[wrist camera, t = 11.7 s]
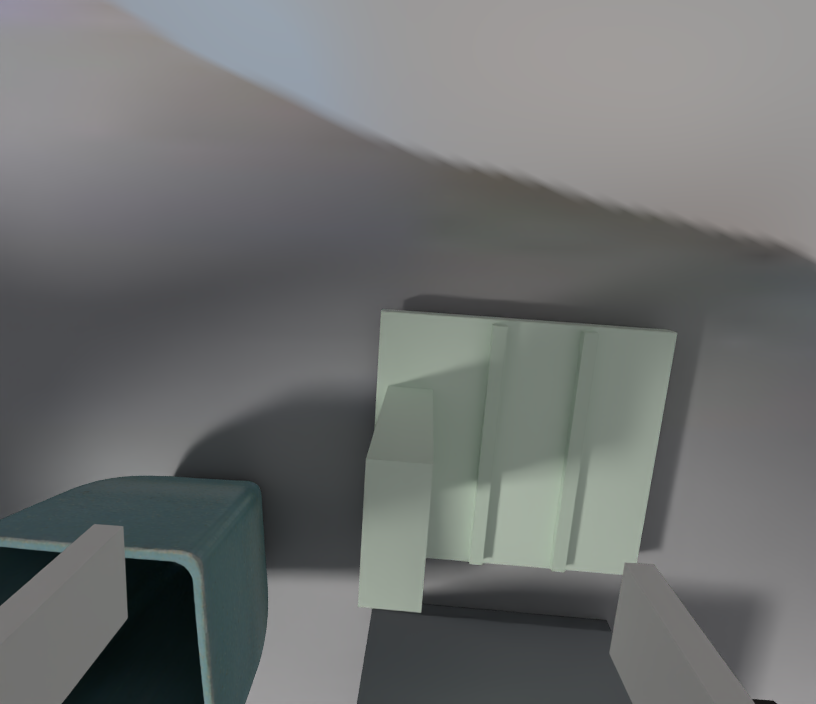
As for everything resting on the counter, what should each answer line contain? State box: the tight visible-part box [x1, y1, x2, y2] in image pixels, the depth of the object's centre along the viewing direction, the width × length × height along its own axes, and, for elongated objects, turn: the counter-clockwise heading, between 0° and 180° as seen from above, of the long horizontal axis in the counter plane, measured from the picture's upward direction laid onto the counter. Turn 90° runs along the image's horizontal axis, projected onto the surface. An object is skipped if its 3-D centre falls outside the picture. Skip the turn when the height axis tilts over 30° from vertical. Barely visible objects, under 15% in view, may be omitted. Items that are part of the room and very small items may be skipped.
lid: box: [358, 309, 677, 613], centre depth 21 cm, size 13×12×10 cm
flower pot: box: [0, 476, 268, 704], centre depth 22 cm, size 9×9×9 cm
